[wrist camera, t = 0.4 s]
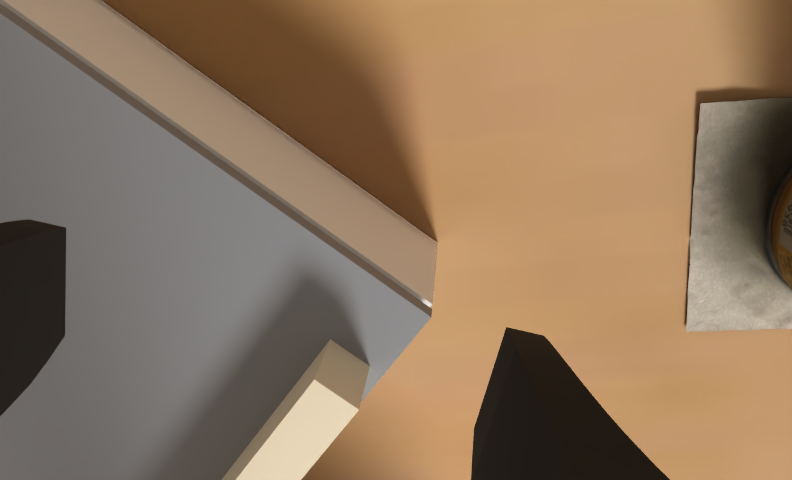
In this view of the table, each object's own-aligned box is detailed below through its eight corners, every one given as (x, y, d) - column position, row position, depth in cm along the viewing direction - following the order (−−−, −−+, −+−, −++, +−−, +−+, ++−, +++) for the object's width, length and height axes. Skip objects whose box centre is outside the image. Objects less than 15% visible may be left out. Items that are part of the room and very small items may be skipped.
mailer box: (217, 520, 26) (163, 632, 21) (-212, 247, 24) (-377, 303, 19) (437, 243, 22) (432, 304, 17) (-58, -115, 20) (-219, -157, 15)
